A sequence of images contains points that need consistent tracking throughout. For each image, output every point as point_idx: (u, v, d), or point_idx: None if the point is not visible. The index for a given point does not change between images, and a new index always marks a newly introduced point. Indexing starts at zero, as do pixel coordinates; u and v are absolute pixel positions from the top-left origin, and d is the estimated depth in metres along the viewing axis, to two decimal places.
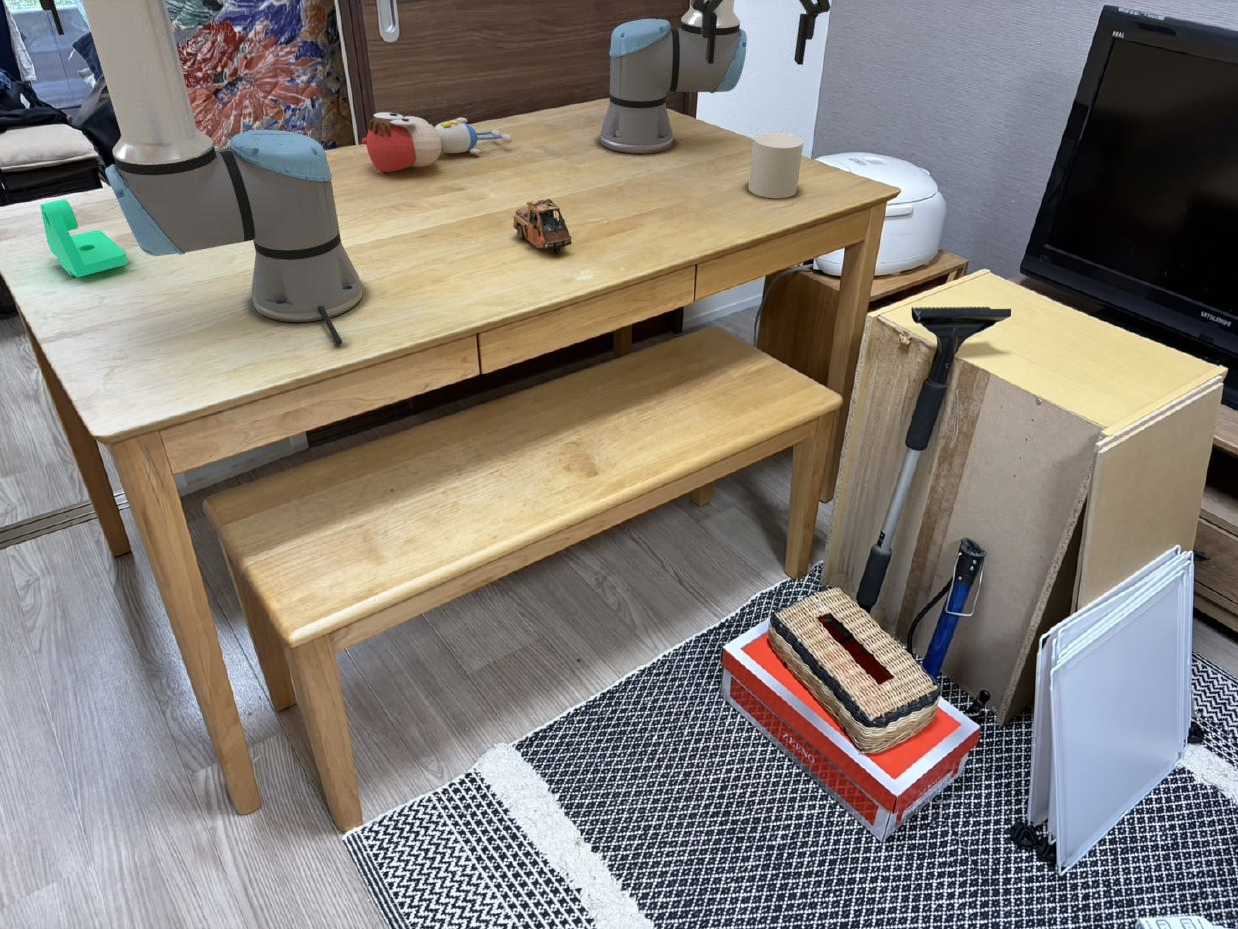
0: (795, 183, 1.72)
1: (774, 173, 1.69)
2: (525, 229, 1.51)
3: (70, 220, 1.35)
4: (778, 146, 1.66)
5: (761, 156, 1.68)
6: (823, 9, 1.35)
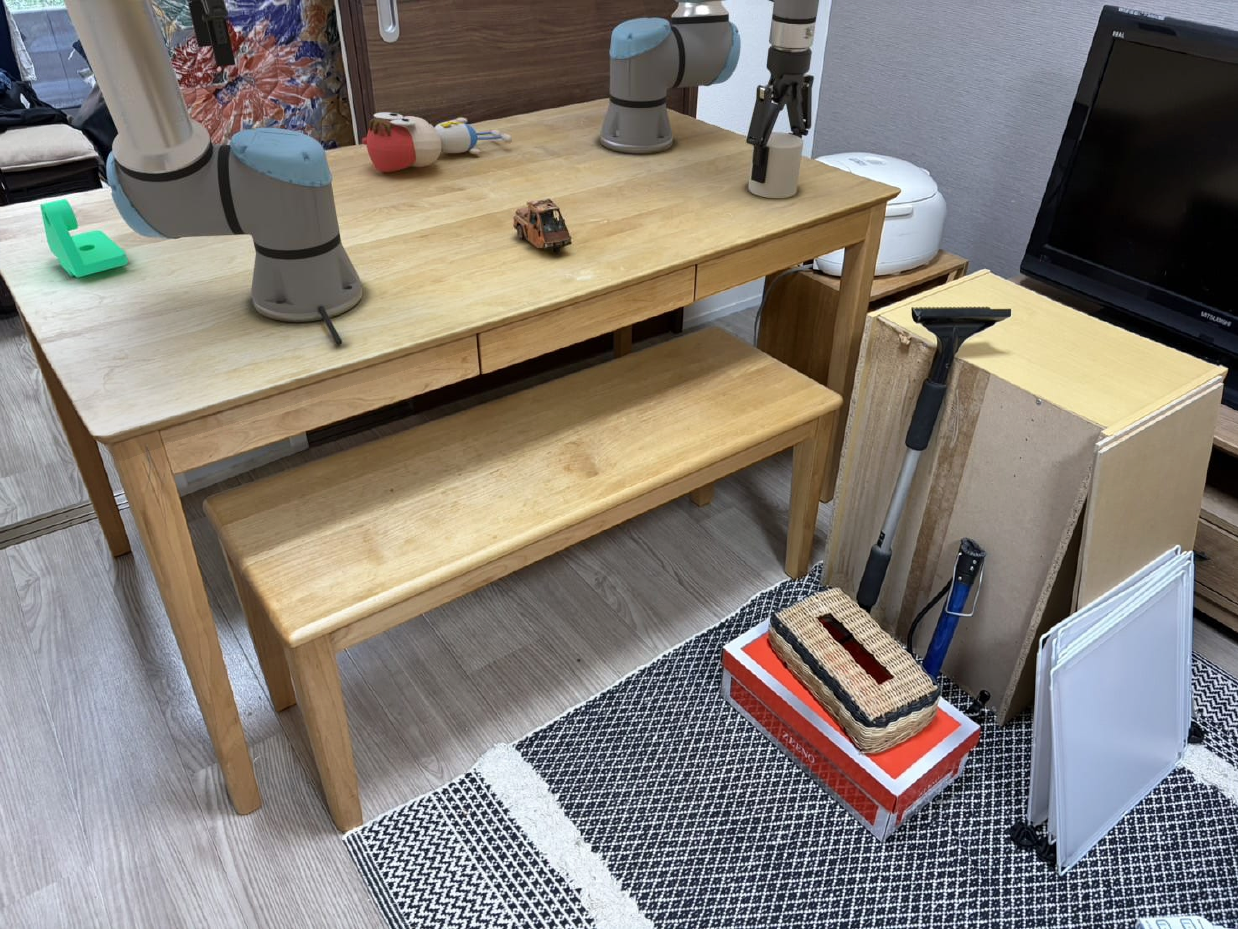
0: (795, 183, 1.72)
1: (774, 173, 1.69)
2: (525, 229, 1.51)
3: (70, 220, 1.35)
4: (778, 146, 1.66)
5: None
6: (807, 127, 1.72)
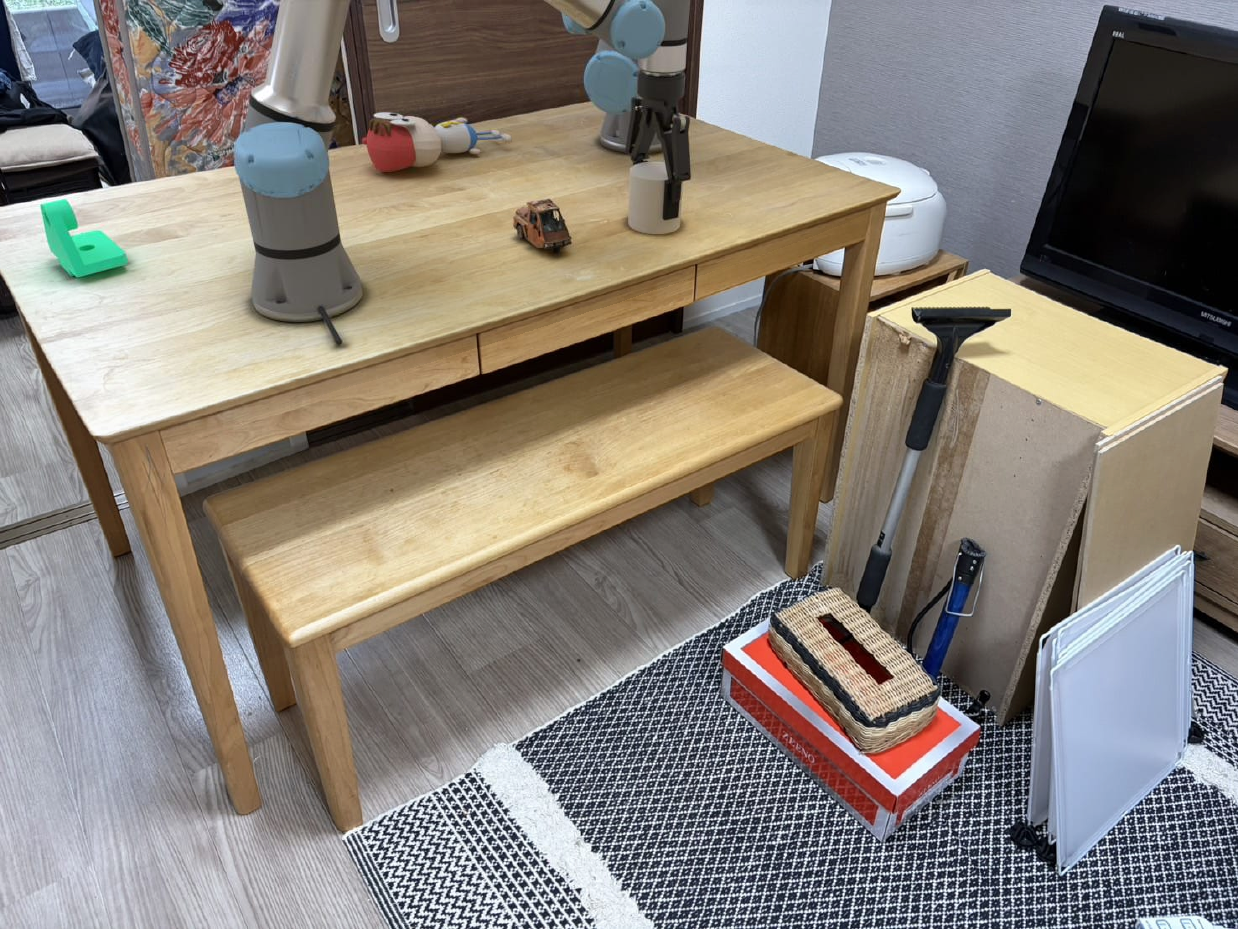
0: (662, 221, 1.56)
1: (635, 203, 1.55)
2: (525, 229, 1.51)
3: (70, 220, 1.35)
4: (639, 175, 1.53)
5: None
6: None
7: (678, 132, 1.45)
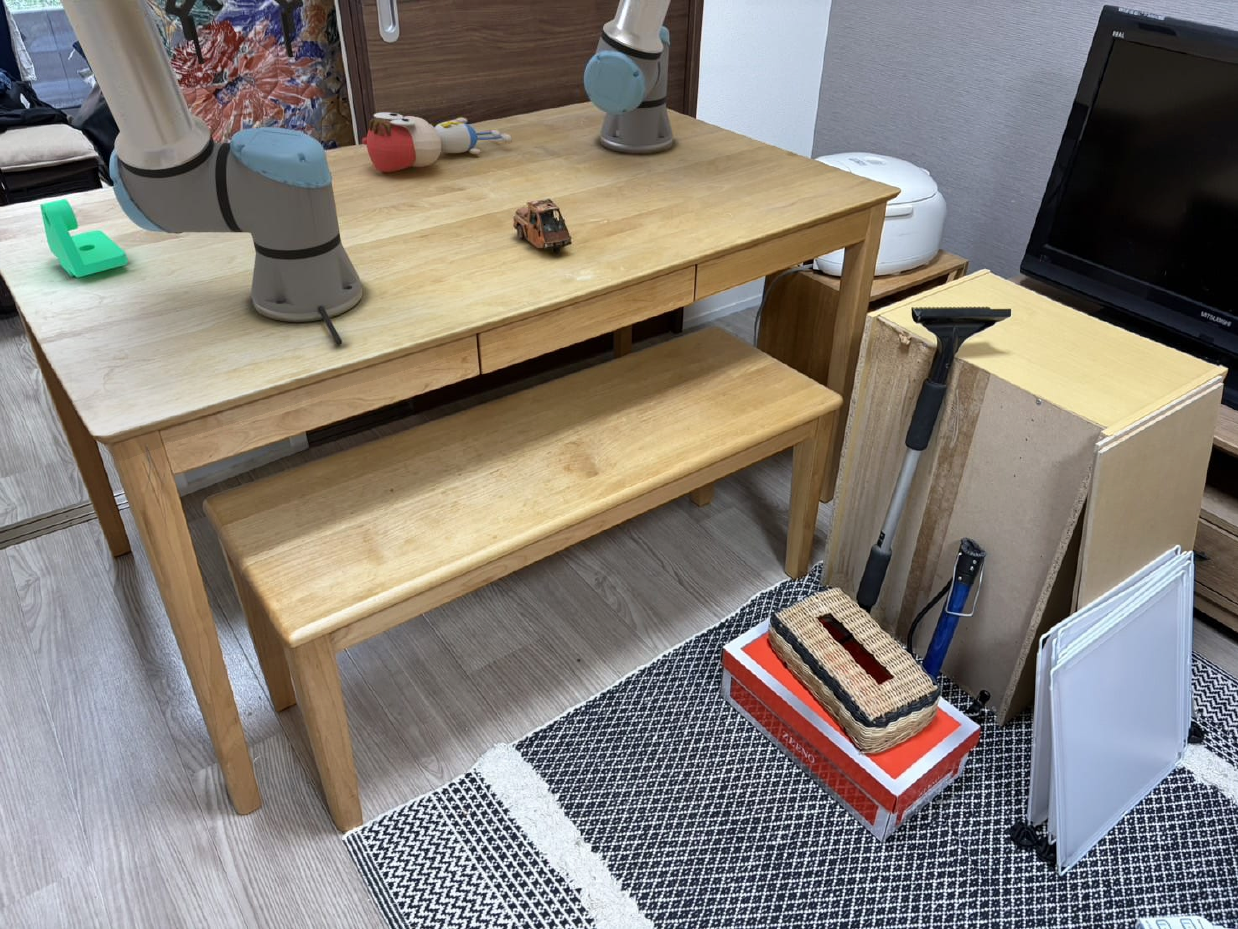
0: None
1: None
2: (525, 229, 1.51)
3: (70, 220, 1.35)
4: None
5: None
6: None
7: None
